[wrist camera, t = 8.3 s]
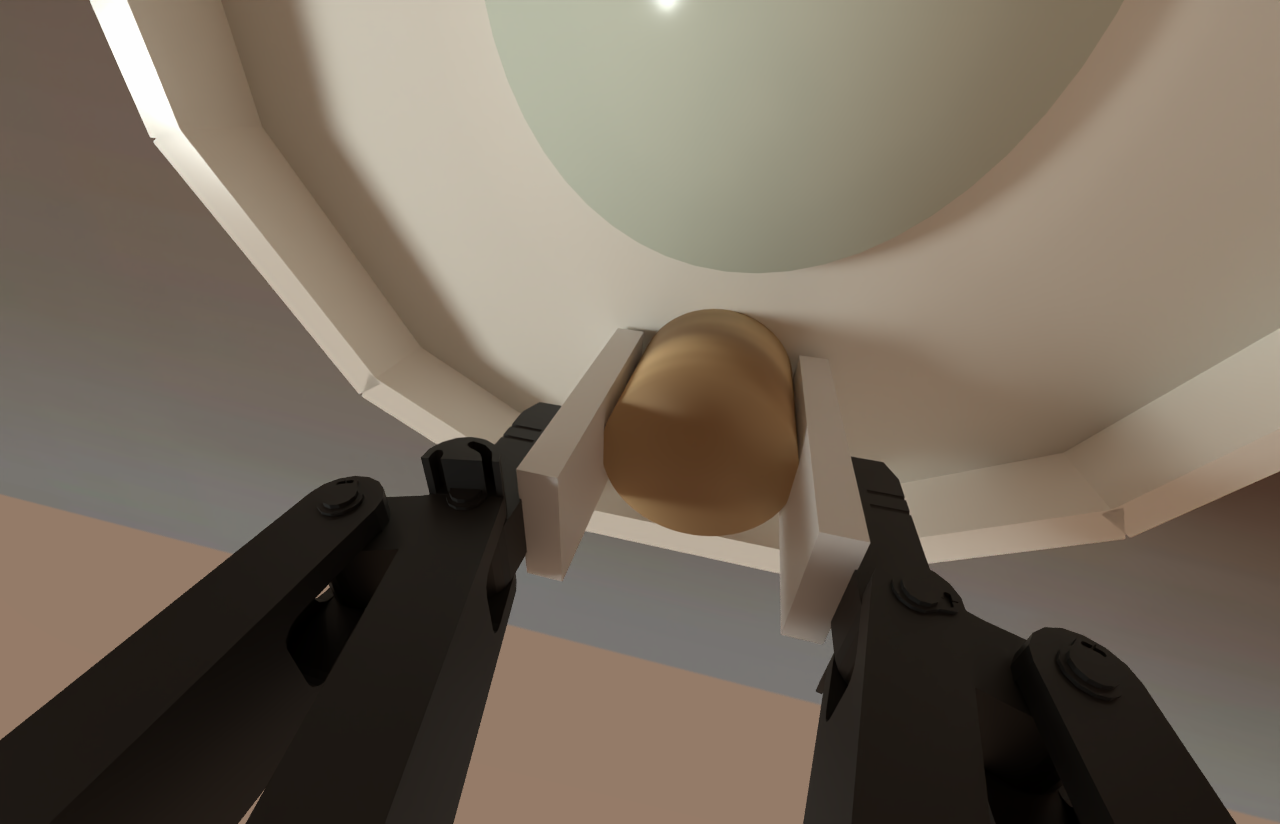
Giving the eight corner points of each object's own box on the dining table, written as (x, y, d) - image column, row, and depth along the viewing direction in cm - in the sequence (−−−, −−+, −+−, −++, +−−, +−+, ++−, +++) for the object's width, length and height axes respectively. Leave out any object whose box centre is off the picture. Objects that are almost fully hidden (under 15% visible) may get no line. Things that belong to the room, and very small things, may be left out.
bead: (636, 429, 16) (600, 515, 12) (645, 298, 13) (602, 361, 10) (774, 454, 15) (775, 552, 11) (809, 320, 12) (823, 397, 9)
